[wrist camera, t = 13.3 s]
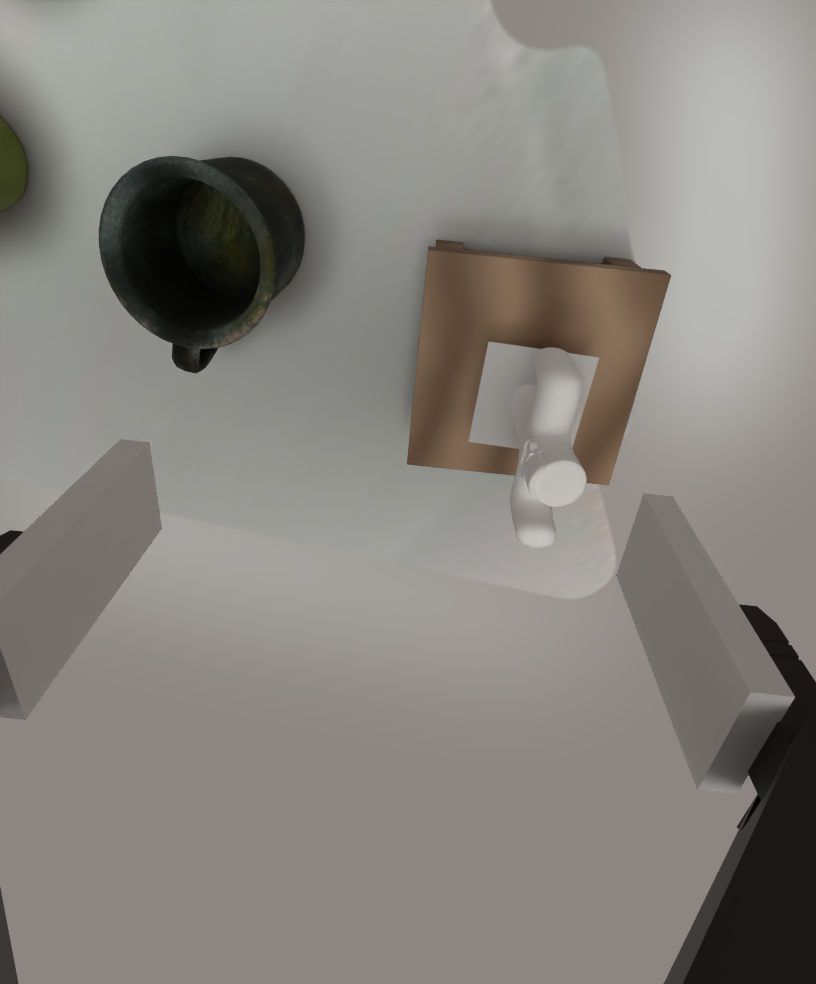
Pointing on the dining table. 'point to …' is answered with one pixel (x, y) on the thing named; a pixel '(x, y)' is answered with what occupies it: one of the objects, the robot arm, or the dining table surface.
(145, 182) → the mug
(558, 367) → the figurine
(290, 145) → the dining table surface
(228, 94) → the dining table surface
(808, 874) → the robot arm
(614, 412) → the walnut stool
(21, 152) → the plant pot
